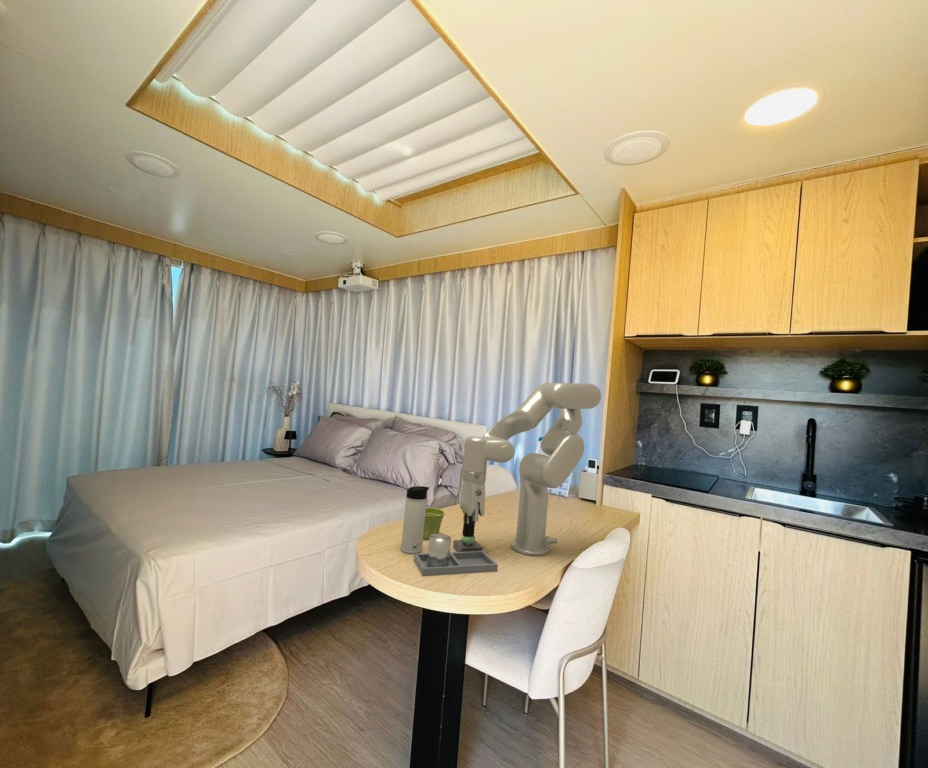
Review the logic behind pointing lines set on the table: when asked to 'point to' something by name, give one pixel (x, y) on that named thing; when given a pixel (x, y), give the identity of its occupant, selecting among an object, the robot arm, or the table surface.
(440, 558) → the steel stub
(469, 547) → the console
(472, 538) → the button
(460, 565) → the divided tray
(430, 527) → the plant pot
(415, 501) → the travel mug
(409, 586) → the table surface
